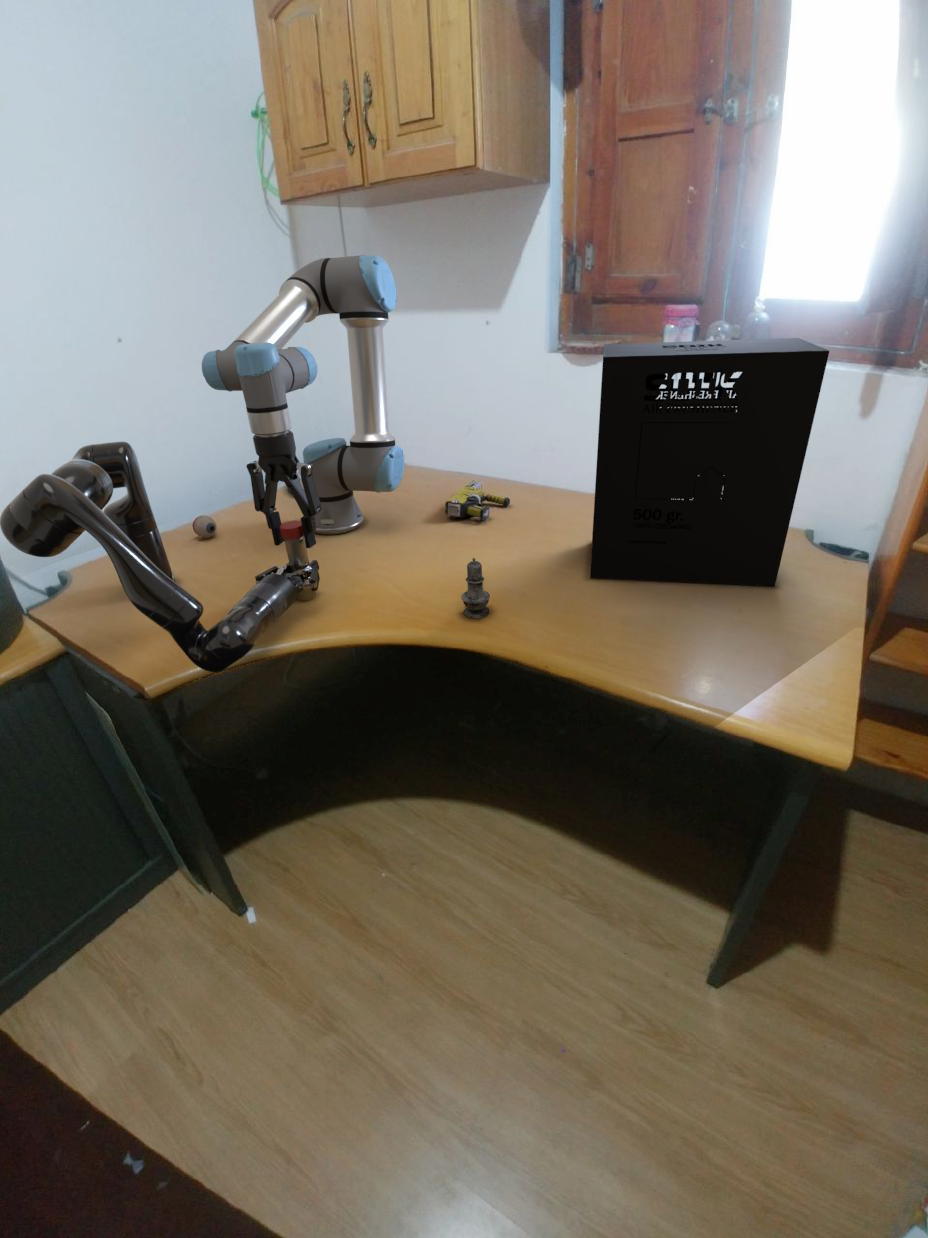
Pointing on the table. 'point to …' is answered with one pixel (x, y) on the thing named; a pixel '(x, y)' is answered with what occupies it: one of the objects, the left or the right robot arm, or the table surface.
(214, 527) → the eyeball
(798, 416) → the cardboard box
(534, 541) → the table surface
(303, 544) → the bottle
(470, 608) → the dark grey chess piece
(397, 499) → the table surface
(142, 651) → the table surface
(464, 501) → the toy gun
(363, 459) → the right robot arm
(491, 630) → the table surface
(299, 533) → the lid
